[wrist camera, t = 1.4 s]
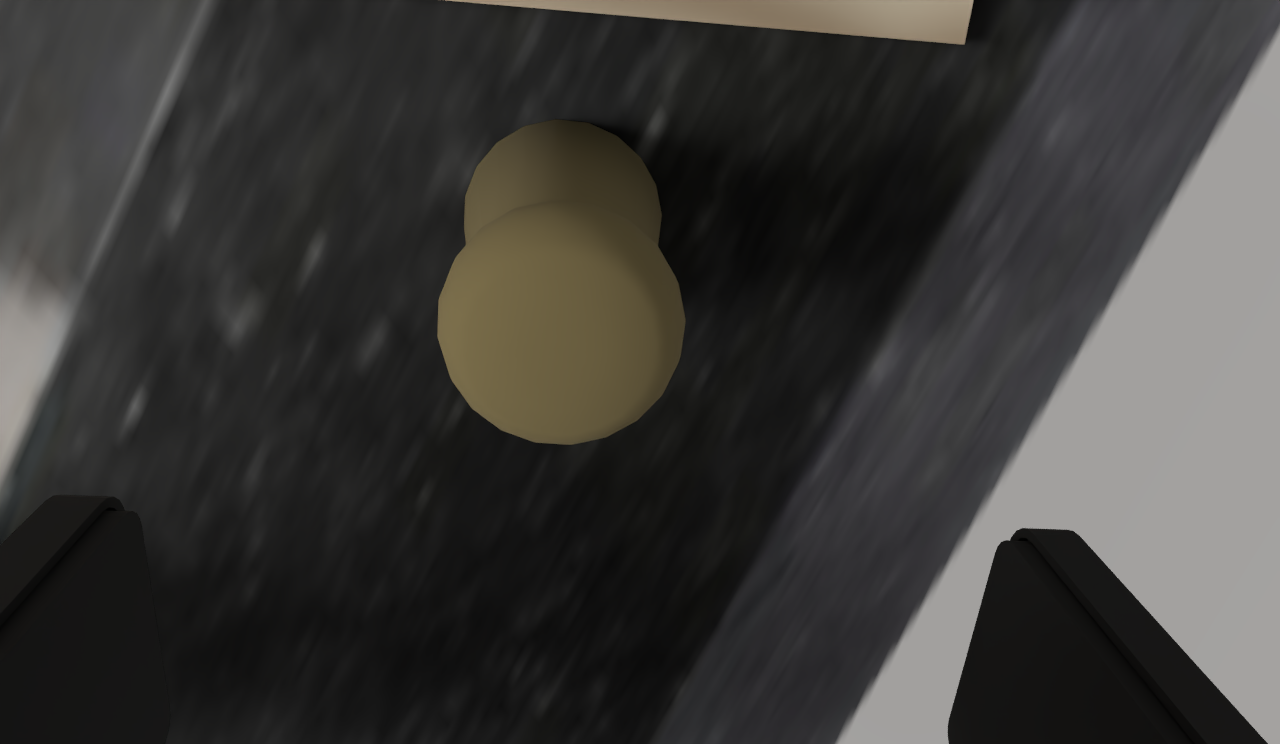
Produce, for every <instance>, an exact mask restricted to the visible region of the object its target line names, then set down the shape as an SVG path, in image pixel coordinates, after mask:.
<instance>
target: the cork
mask: <svg viewBox="0 0 1280 744" xmlns="http://www.w3.org/2000/svg"><path fill="white" fill-rule="evenodd" d="M661 218H662V213H661V208H660V203H659V198H658V192H657V187H656V184H655V182H654V180H653V179H652V177H651V175H650V173H649V171H648V170H647V168H646V166H645V164H644V162H643V161H642V159H641V157H640V156H638V155H637V154H636V153H635V152H634V151H633V150H632V149H631V148H630V147H629V146H628V145H627V144H625V143H624V142H623V141H622V140H621V139H620V138H619V137H618V136H616V135H614V134H612V133H610V132H607V131H605V130H603V129H601V128H599V127H596V126H594V125H592V124H590V123H586V122H577V121H568V120H558V119H555V120H550V121H545V122H541V123H536V124H532V125H527V126H524V127H522V128H520V129H519V130H517V131H515V132H514V133H512V134H510V135H509V136H507V137H505V138H504V139H502V140H500V141H499V142H497V143H496V144H495V145H494V147H493V148H492V149H491V150H490V151H489V153H488V154H487V155H486V156H485V157H484V159H483V160H482V161H481V162H480V163H479V164H478V166H477V167H476V170H475V172H474V175H473V177H472V180H471V183H470V185H469V188H468V190H467V193H466V195H465V216H464V230H465V239H466V246H465V247H464V248H463V249H462V250H461V252H460V253H459V254H458V255H457V256H456V258H455V260H454V262H453V264H452V267H451V269H450V272H449V275H448V277H447V280H446V282H445V285H444V287H443V290H442V292H441V295H440V297H439V305H438V336H437V337H438V340H439V343H440V346H441V349H442V353H443V356H444V359H445V362H446V365H447V369H448V372H449V375H450V378H451V380H452V382H453V383H454V384H455V386H456V387H457V388H458V390H459V391H460V393H461V394H462V395H463V397H464V398H465V400H466V401H467V402H468V404H469V405H470V406H471V408H472V409H473V410H475V411H476V412H477V413H479V414H480V415H481V416H483V417H484V418H485V419H487V420H488V421H489V422H491V423H492V424H493V425H495V426H496V427H497V428H499V429H500V430H502V431H505V432H507V433H510V434H513V435H516V436H518V437H521V438H524V439H527V440H529V441H532V442H535V443H550V444H564V445H573V444H578V443H582V442H587V441H592V440H596V439H601V438H606V437H608V436H610V435H612V434H613V433H615V432H617V431H619V430H621V429H623V428H624V427H626V426H628V425H630V424H632V423H634V422H636V421H637V420H638V419H639V418H640V417H641V416H642V415H643V414H644V413H645V412H646V411H647V410H648V409H649V408H650V407H651V406H652V405H653V404H654V403H655V402H656V401H657V400H658V399H659V398H660V397H661V396H662V394H663V392H664V391H665V389H666V387H667V385H668V383H669V381H670V379H671V377H672V375H673V373H674V371H675V369H676V367H677V365H678V362H679V359H680V356H681V350H682V343H683V336H684V329H685V322H686V320H685V314H684V309H683V304H682V299H681V294H680V288H679V284H678V282H677V279H676V277H675V275H674V273H673V272H672V270H671V268H670V266H669V265H668V263H667V261H666V259H665V258H664V256H663V254H662V252H661V251H660V249H659V247H658V242H659V234H660V226H661Z"/></svg>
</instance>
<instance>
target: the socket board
mask: <svg viewBox="0 0 1280 744" xmlns="http://www.w3.org/2000/svg"><path fill="white" fill-rule="evenodd" d="M447 1H459V2H470V3H482V4H494V5H506V6H517V7H529V8H541V9H553V10H564V11H576V12H588V13H599V14H611V15H623V16H635V17H646V18H658V19H670V20H682V21H693V22H705V23H717V24H729V25H740V26H752V27H764V28H775V29H787V30H799V31H811V32H822V33H834V34H846V35H858V36H869V37H881V38H893V39H905V40H916V41H928V42H940V43H952V44H963V45H964V44H965V39H966V35H967V30H968V25H969V20H970V15H971V10H972V5H973V1H974V0H447Z"/></svg>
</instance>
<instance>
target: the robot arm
mask: <svg viewBox="0 0 1280 744" xmlns="http://www.w3.org/2000/svg"><path fill="white" fill-rule="evenodd" d="M169 725H170V705H169V698H168V692H167V685H166V679H165V673H164V666H163V660H162V653H161V647H160V640H159V634H158V628H157V621H156V615H155V608H154V602H153V595H152V589H151V583H150V576H149V570H148V563H147V557H146V550H145V544H144V538H143V531H142V525H141V521H140V518H139V516H138V515H137V513H135V512H133V511H125V510H124V507H123V505H122V503H121V502H120V500H119V499H117V498H115V497H106V496H77V495H55V496H52V497H50V498H49V499H48V500H46V501H45V502H44V503H43V504H42V505H41V506H40V507H39V508H38V509H37V510H36V511H35V512H34V513H33V514H32V515H31V516H30V517H29V518H28V519H27V520H26V521H25V522H24V523H23V524H22V525H21V526H20V527H19V528H18V529H17V530H16V531H14V532H13V533H12V534H11V535H10V536H9V537H8V538H7V539H6V540H5V541H4V542H3V543H2V544H1V545H0V744H165V741H166V738H167V735H168V730H169ZM948 740H949V744H1268V743H1267V742H1266V741H1265V740H1264V739H1263V738H1262V737H1261V736H1260V735H1259V734H1258V732H1257V731H1256V730H1255V729H1254V728H1253V727H1252V726H1251V725H1250V724H1249V722H1248V721H1247V720H1246V719H1245V718H1244V717H1243V716H1242V715H1241V714H1240V713H1239V712H1238V710H1237V709H1236V708H1235V707H1234V706H1233V705H1232V704H1231V703H1230V701H1229V700H1228V699H1227V698H1226V697H1225V696H1224V695H1223V694H1222V693H1221V692H1220V690H1219V689H1217V687H1216V686H1215V685H1214V684H1213V683H1212V682H1211V681H1210V679H1209V678H1208V677H1207V676H1206V675H1205V674H1204V673H1203V672H1202V671H1201V669H1199V667H1198V666H1197V665H1196V664H1195V663H1194V662H1193V661H1192V660H1191V659H1190V658H1189V656H1188V655H1187V654H1186V653H1185V652H1184V651H1183V650H1182V649H1181V647H1180V646H1179V645H1178V644H1177V643H1176V642H1175V641H1174V640H1173V639H1172V637H1171V636H1170V635H1169V634H1168V633H1167V632H1166V631H1165V630H1164V629H1163V628H1162V626H1161V625H1160V624H1159V623H1158V622H1157V621H1156V620H1155V619H1154V618H1153V616H1151V614H1150V613H1149V612H1148V611H1147V610H1146V609H1145V608H1144V607H1143V605H1141V603H1140V602H1139V601H1138V600H1137V599H1136V598H1135V597H1134V595H1133V594H1132V593H1131V592H1130V591H1129V590H1128V589H1127V588H1126V587H1125V586H1124V584H1123V583H1122V582H1121V581H1120V580H1119V579H1118V578H1117V577H1116V576H1115V575H1114V574H1113V572H1112V571H1111V570H1110V569H1109V568H1108V567H1107V566H1106V565H1105V563H1104V562H1103V561H1102V560H1101V559H1100V558H1099V557H1098V556H1097V555H1096V554H1095V552H1094V551H1093V550H1092V549H1091V548H1090V547H1089V546H1088V545H1087V544H1086V543H1085V541H1084V540H1083V539H1082V538H1081V537H1080V536H1079V535H1077V534H1076V533H1075V532H1074V531H1070V530H1056V529H1026V528H1022V529H1020V530H1017V531H1016V532H1015V533H1014V535H1013V536H1012V537H1011V540H1010V541H1003V542H1001V543H1000V545H999V546H998V547H997V550H996V552H995V556H994V559H993V563H992V566H991V570H990V574H989V577H988V581H987V585H986V588H985V592H984V595H983V599H982V603H981V607H980V610H979V613H978V617H977V621H976V624H975V628H974V631H973V635H972V639H971V642H970V646H969V650H968V653H967V657H966V661H965V664H964V667H963V671H962V675H961V678H960V682H959V686H958V689H957V693H956V696H955V700H954V703H953V707H952V711H951V714H950V718H949V723H948Z"/></svg>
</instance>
